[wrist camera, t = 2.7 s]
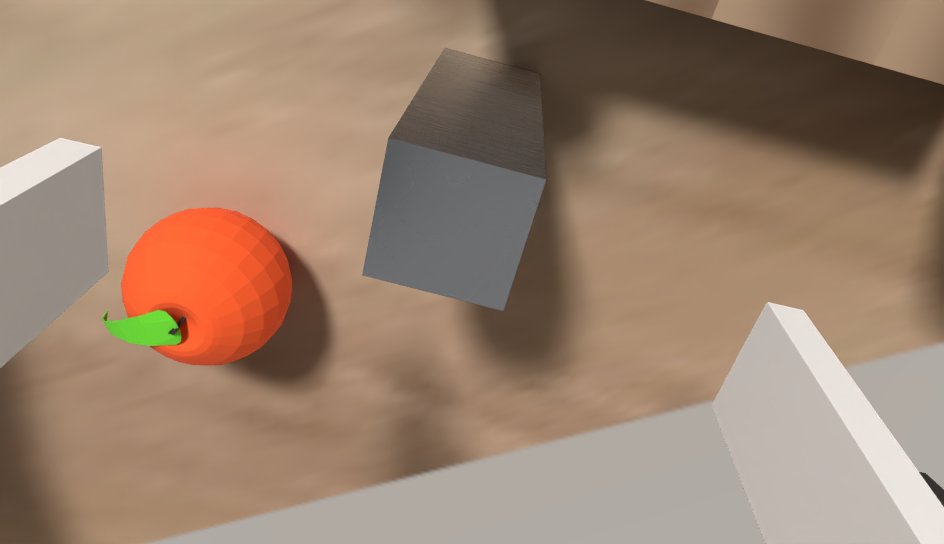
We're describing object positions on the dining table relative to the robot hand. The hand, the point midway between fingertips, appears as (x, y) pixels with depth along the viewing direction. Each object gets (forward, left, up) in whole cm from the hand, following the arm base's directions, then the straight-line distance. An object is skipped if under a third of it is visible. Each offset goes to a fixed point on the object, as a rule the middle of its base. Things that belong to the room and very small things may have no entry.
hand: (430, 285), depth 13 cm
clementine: (-10, -11, -16) cm, 22 cm away
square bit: (0, -1, -16) cm, 16 cm away
